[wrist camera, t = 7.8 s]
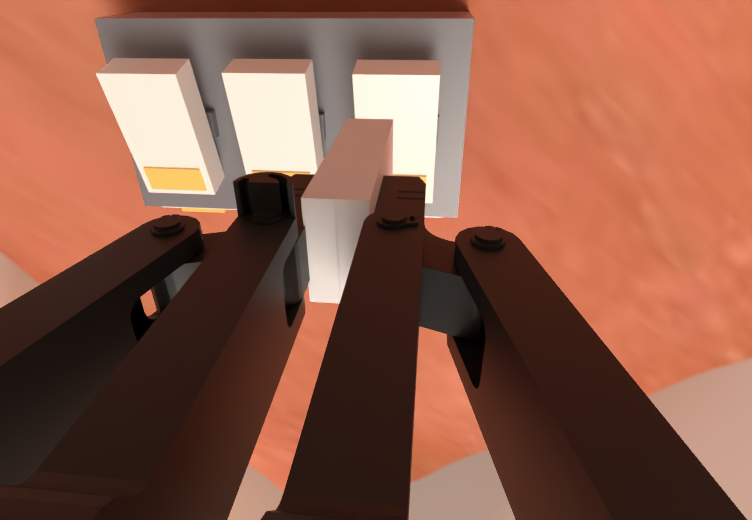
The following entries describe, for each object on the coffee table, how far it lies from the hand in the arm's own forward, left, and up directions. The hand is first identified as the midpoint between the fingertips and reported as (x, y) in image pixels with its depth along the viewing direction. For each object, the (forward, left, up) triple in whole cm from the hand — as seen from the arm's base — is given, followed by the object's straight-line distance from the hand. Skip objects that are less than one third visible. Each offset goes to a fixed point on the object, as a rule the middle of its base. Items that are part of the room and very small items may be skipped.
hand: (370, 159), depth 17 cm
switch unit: (+3, -7, -19) cm, 21 cm away
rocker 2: (+3, -7, -12) cm, 14 cm away
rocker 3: (+3, 0, -12) cm, 13 cm away
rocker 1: (+3, -14, -12) cm, 19 cm away
